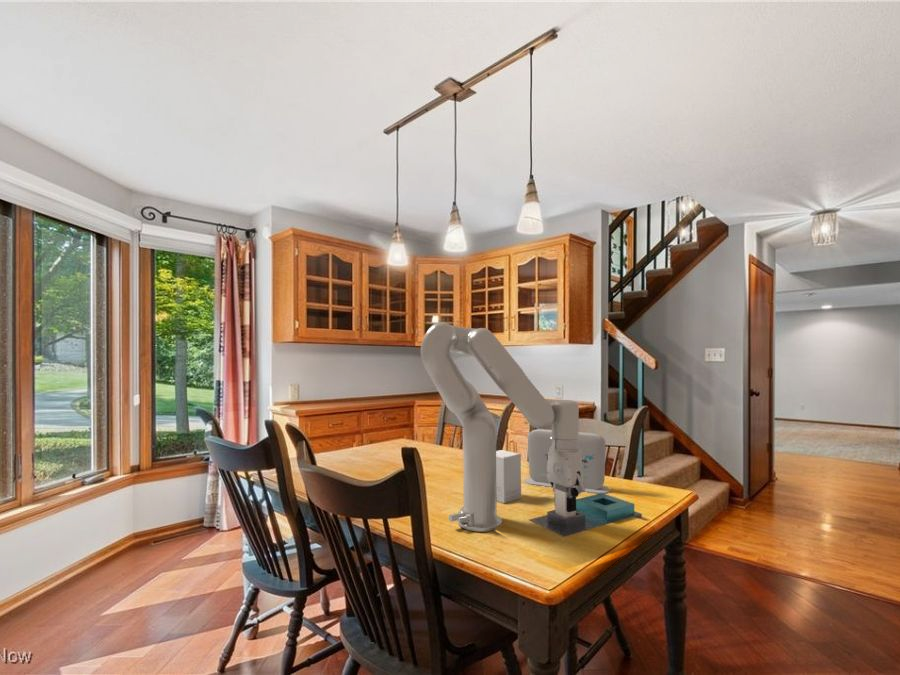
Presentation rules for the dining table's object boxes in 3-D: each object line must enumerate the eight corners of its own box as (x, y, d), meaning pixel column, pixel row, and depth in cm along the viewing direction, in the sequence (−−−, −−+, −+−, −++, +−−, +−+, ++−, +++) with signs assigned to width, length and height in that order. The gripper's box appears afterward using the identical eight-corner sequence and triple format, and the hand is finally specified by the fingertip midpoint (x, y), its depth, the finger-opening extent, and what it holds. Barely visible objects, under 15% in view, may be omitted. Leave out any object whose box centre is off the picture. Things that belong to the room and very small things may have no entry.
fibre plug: (565, 525, 127) (565, 474, 127) (555, 520, 130) (555, 471, 130) (575, 522, 129) (575, 472, 129) (565, 517, 132) (565, 469, 133)
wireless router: (520, 483, 171) (520, 430, 171) (528, 477, 179) (528, 426, 180) (607, 495, 156) (606, 437, 157) (612, 488, 165) (611, 432, 166)
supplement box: (522, 498, 154) (521, 453, 154) (504, 504, 148) (504, 457, 148) (502, 491, 161) (502, 449, 161) (484, 497, 155) (484, 453, 155)
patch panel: (563, 540, 119) (563, 525, 119) (528, 523, 131) (528, 509, 131) (641, 517, 136) (641, 503, 136) (603, 503, 148) (603, 491, 148)
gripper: (535, 440, 135) (535, 502, 135) (577, 450, 121) (578, 520, 120) (553, 437, 139) (554, 498, 139) (597, 447, 125) (597, 515, 124)
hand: (565, 508), depth 130 cm, fingers closed on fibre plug, 4 cm apart
